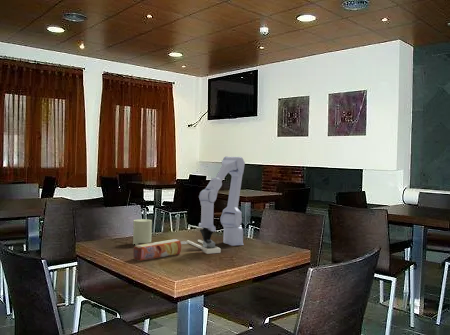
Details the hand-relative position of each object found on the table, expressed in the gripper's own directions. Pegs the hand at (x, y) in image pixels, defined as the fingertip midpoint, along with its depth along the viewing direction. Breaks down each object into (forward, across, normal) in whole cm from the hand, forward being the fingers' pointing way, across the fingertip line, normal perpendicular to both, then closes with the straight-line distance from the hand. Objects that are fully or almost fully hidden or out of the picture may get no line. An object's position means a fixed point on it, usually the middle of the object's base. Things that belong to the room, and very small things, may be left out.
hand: (206, 244), depth 199 cm
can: (+3, -26, -23) cm, 35 cm away
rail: (+2, -4, 0) cm, 5 cm away
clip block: (+2, +3, 0) cm, 3 cm away
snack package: (+3, +6, -26) cm, 26 cm away
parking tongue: (+2, -16, -6) cm, 17 cm away
